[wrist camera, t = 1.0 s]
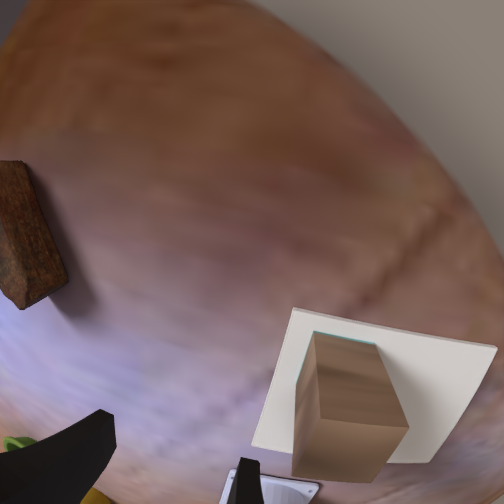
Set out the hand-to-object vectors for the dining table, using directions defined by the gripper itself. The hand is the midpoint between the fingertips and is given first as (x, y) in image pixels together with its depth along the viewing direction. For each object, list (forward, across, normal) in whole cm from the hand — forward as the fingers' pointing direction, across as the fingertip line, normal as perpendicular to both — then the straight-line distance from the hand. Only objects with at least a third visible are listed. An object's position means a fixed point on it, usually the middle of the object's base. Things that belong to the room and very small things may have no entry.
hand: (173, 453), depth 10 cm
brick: (+11, +17, -3) cm, 20 cm away
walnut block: (+10, -7, 0) cm, 12 cm away
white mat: (+10, -12, +3) cm, 16 cm away
